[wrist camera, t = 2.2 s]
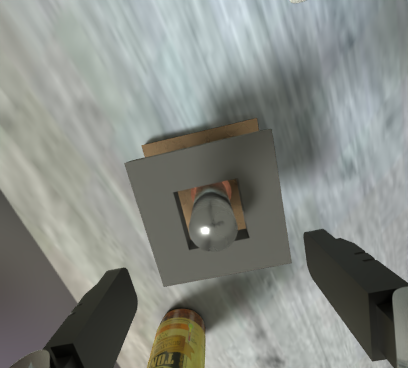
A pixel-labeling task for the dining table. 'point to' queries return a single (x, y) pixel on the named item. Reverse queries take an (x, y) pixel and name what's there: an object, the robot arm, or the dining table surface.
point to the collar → (204, 175)
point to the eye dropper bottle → (296, 1)
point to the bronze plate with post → (209, 191)
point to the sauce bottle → (179, 341)
